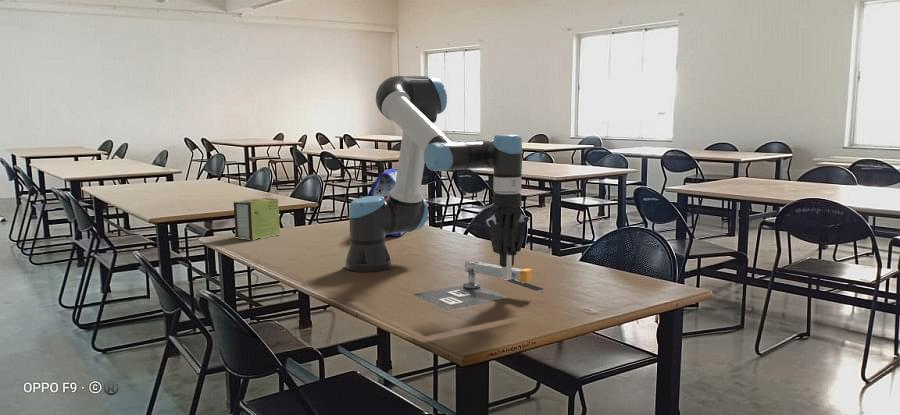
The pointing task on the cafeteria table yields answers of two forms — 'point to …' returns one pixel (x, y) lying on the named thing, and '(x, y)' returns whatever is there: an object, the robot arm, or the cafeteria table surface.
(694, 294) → the cafeteria table surface
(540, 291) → the smartphone
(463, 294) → the label
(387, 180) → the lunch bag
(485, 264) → the swing arm
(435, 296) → the board
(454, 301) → the label
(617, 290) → the cafeteria table surface
